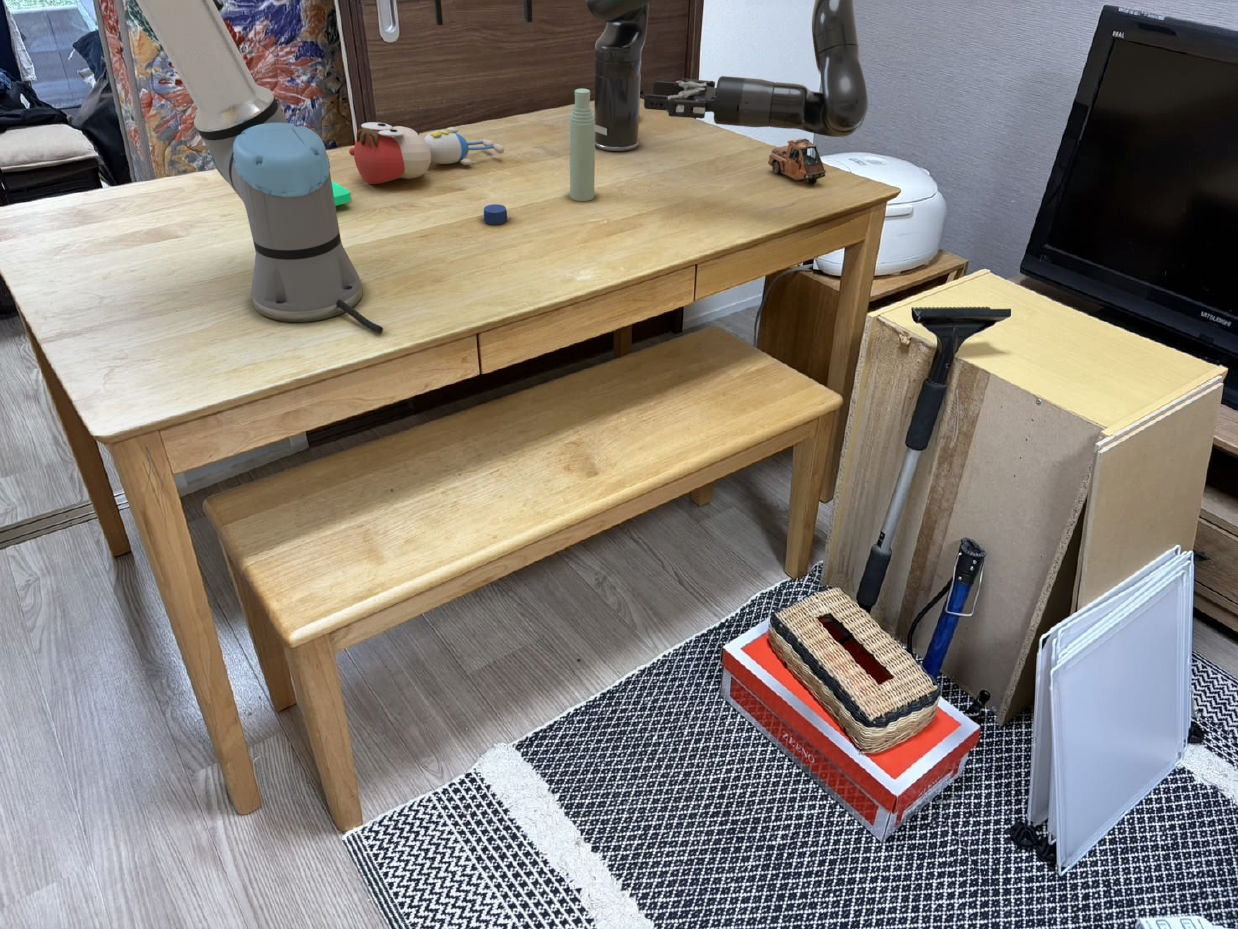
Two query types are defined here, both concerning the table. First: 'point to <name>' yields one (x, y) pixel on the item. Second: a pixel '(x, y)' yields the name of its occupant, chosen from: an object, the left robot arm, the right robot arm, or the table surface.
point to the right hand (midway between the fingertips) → (649, 94)
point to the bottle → (582, 148)
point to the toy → (408, 151)
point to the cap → (495, 214)
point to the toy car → (797, 161)
